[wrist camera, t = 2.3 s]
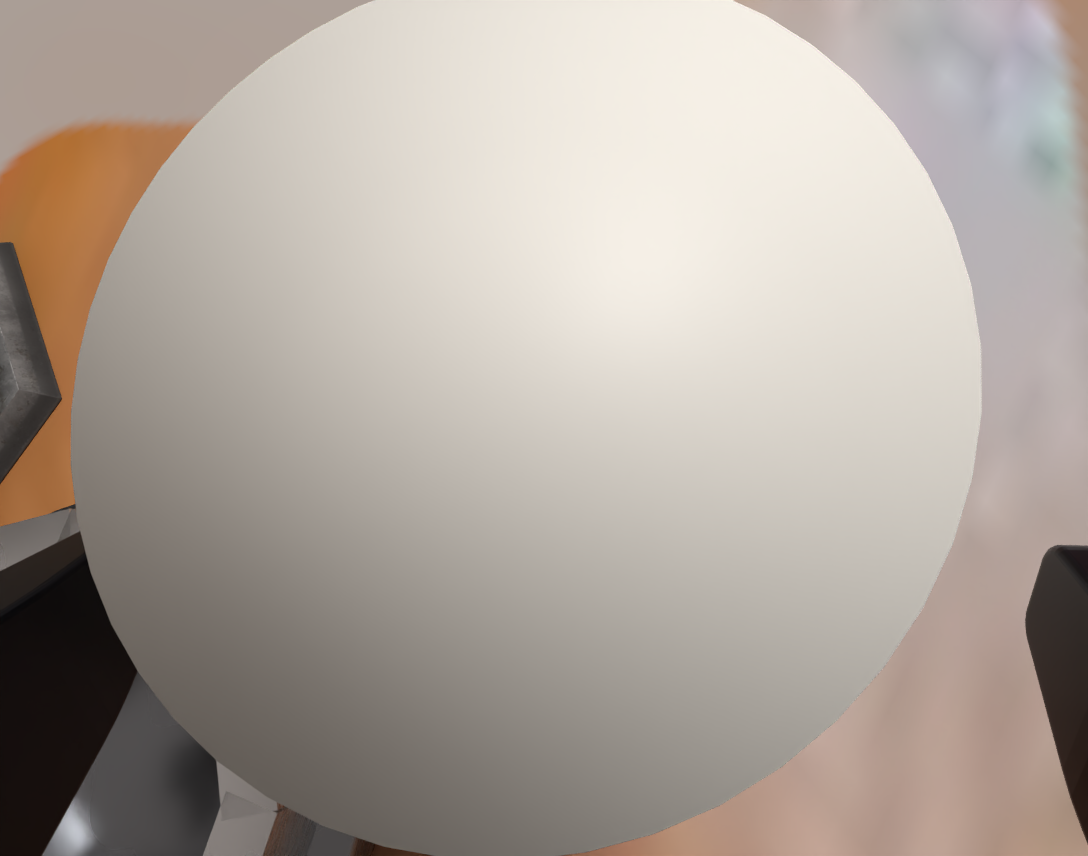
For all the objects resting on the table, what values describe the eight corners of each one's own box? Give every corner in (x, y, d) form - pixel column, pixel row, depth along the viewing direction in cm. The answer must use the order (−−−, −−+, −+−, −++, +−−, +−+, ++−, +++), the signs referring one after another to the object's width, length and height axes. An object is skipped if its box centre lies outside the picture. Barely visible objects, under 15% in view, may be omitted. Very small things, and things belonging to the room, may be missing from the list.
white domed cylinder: (841, 543, 16) (1237, 343, 4) (620, 756, 16) (430, 1132, 4) (629, 341, 18) (516, -177, 6) (427, 530, 17) (-75, 361, 6)
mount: (495, 784, 16) (444, 828, 13) (86, 1176, 16) (-78, 1327, 12) (199, 408, 19) (96, 364, 16) (-146, 728, 19) (-327, 751, 15)
